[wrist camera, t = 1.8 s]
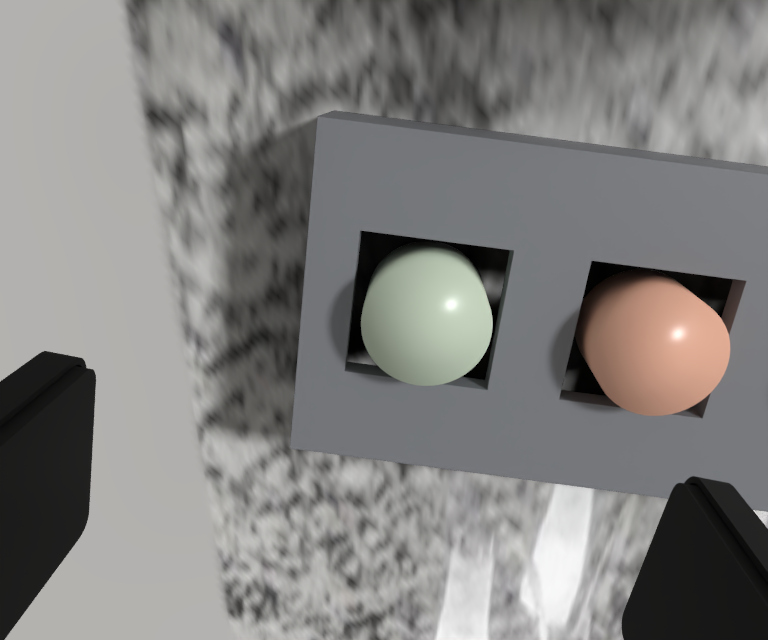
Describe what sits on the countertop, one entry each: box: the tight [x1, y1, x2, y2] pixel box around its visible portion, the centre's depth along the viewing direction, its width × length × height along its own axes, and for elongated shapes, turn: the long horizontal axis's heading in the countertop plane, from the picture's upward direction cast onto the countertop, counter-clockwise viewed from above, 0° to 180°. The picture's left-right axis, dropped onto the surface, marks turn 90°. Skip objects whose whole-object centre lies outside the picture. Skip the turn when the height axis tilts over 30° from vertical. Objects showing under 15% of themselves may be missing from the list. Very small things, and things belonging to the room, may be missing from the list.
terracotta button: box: [575, 269, 730, 416], centre depth 27 cm, size 5×5×4 cm
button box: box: [290, 111, 768, 512], centre depth 29 cm, size 28×14×5 cm, turn 83°
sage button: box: [361, 241, 493, 386], centre depth 27 cm, size 5×5×4 cm
